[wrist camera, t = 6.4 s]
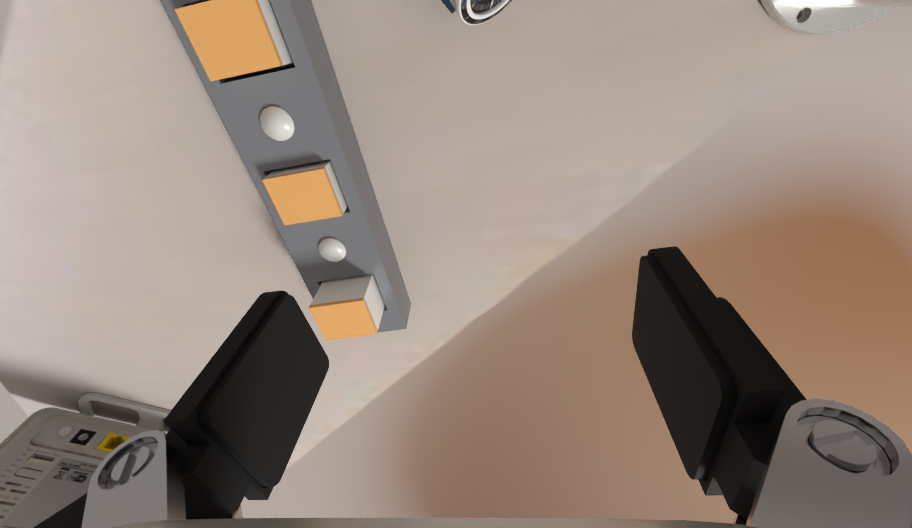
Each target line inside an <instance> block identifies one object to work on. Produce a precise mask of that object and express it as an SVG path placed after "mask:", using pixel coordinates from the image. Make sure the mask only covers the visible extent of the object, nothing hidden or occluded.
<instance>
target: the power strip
mask: <svg viewBox="0 0 912 528" xmlns="http://www.w3.org/2000/svg"><path fill="white" fill-rule="evenodd" d="M160 1H161V3H162V5H163V7H164V9H165V11H166V13H167V15H168V17H169V19H170V21H171V23H172V24H173V26H174V28H175V30H176V32H177V34H178V36H179V38H180V40H181V42H182V44H183V46H184V48H185V50H186V52H187V54H188V56H189V58H190V60H191V62H192V63H193V65H194V67H195V69H196V71H197V73H198V75H199V77H200V79H201V81H202V83H203V85H204V87H205V89H206V91H207V93H208V95H209V97H210V99H211V100H212V102H213V104H214V106H215V108H216V110H217V112H218V114H219V116H220V118H221V120H222V122H223V124H224V126H225V128H226V130H227V132H228V134H229V136H230V138H231V139H232V141H233V143H234V145H235V147H236V149H237V151H238V153H239V155H240V157H241V159H242V161H243V163H244V165H245V167H246V169H247V171H248V173H249V175H250V177H251V178H252V180H253V182H254V184H255V186H256V188H257V190H258V192H259V194H260V196H261V198H262V200H263V202H264V204H265V206H266V208H267V210H268V212H269V214H270V216H271V217H272V219H273V221H274V223H275V225H276V227H277V229H278V231H279V233H280V235H281V237H282V239H283V241H284V243H285V245H286V247H287V249H288V251H289V253H290V255H291V256H292V258H293V260H294V262H295V264H296V266H297V268H298V270H299V272H300V274H301V276H302V278H303V280H304V282H305V284H306V286H307V288H308V290H309V292H310V294H311V295H312V297H313V299H314V297H315V295H316V293H317V291H318V289H319V287H320V286H321V284H322V282H323V281H327V280H334V279H340V278H347V277H354V276H361V275H368V274H374V276H375V279H376V281H377V284H378V287H379V289H380V292H381V295H382V297H383V300H384V302H385V306H384V310H383V314H382V317H381V321H380V325H379V328H378V332H384V331H392V330H400V329H406V327H407V322H408V316H409V311H410V305H411V303H410V300H409V297H408V294H407V291H406V288H405V285H404V282H403V278H402V275H401V272H400V269H399V266H398V263H397V260H396V257H395V254H394V251H393V248H392V245H391V242H390V239H389V236H388V233H387V230H386V227H385V224H384V221H383V218H382V215H381V212H380V209H379V206H378V203H377V200H376V197H375V194H374V190H373V187H372V184H371V181H370V178H369V175H368V172H367V169H366V166H365V163H364V160H363V157H362V154H361V151H360V148H359V145H358V142H357V139H356V136H355V133H354V130H353V127H352V124H351V121H350V118H349V115H348V112H347V109H346V106H345V103H344V99H343V96H342V93H341V90H340V87H339V84H338V81H337V78H336V75H335V72H334V69H333V66H332V63H331V60H330V57H329V54H328V51H327V48H326V45H325V42H324V39H323V36H322V33H321V30H320V27H319V24H318V21H317V18H316V15H315V11H314V8H313V5H312V2H311V0H270V2H271V5H272V7H273V10H274V13H275V15H276V18H277V20H278V23H279V26H280V28H281V31H282V34H283V36H284V39H285V42H286V44H287V47H288V49H289V52H290V55H291V57H292V60H293V63H290V64H286V65H283V66H279V67H274V68H270V69H265V70H261V71H256V72H252V73H247V74H243V75H238V76H234V77H229V78H224V79H220V80H215V81H210V79H209V77H208V75H207V73H206V71H205V69H204V67H203V65H202V63H201V61H200V60H199V58H198V56H197V54H196V52H195V50H194V48H193V46H192V44H191V42H190V40H189V38H188V36H187V34H186V32H185V30H184V28H183V26H182V24H181V22H180V20H179V18H178V16H177V14H176V12H175V10H174V9H178V8H182V7H186V6H190V5H194V4H198V3H202V2H206V1H210V0H160ZM329 159H330V160H331V163H332V165H333V168H334V171H335V173H336V176H337V179H338V181H339V184H340V186H341V189H342V192H343V194H344V197H345V200H346V202H347V205H348V207H347V209H346V210H345V212H344V213H343V215H342V216H339V217H333V218H327V219H321V220H315V221H309V222H303V223H297V224H291V225H284V223H283V221H282V219H281V217H280V215H279V213H278V211H277V209H276V207H275V205H274V203H273V201H272V199H271V197H270V195H269V193H268V191H267V189H266V187H265V185H264V183H263V181H262V180H263V179H264V178H265V177H266V176H267V175H269V174H270V173H271V172H272V171H273V170H275V169H280V168H285V167H291V166H296V165H302V164H307V163H312V162H318V161H323V160H329Z"/></svg>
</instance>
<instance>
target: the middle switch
mask: <svg viewBox="0 0 912 528" xmlns="http://www.w3.org/2000/svg"><path fill="white" fill-rule="evenodd" d="M262 181H263V183H264V185H265V187H266V189H267V191H268V193H269V195H270V197H271V199H272V201H273V203H274V205H275V207H276V209H277V211H278V213H279V215H280V217H281V219H282V221H283V223H284V225H291V224H297V223H303V222H309V221H315V220H321V219H327V218H333V217H339V216H342V215H343V213H344V212H345V210H346V209H347V207H348V205H347V202H346V200H345V197H344V194H343V192H342V189H341V186H340V184H339V181H338V179H337V176H336V173H335V171H334V168H333V165H332V163H331V160H330V159H329V160H323V161H318V162H312V163H307V164H302V165H296V166H291V167H285V168H280V169H275V170H273V171H272V172H271V173H270V174H269V175H267V176H266V177H265V178H264V179H263V180H262Z"/></svg>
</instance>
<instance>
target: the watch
mask: <svg viewBox="0 0 912 528" xmlns="http://www.w3.org/2000/svg"><path fill="white" fill-rule="evenodd" d="M511 1H512V0H442V2H443V3H444V4H445V5H446V7H447V8H448V9H449V10H450V12H451V13H454V12H455V10H456V11H457V12H458V15H459V17H460V18H461V19H462V21H463V22H464V23H466V24H469V25H478V24H482V23H484V22H486V21H488V20H490V19H492V18H493V17H494V16H496V15H497V14H499V13H500V12H501V11H502V10H503V9H504V8H505V7H506V6H507V5H508V4H509V3H510V2H511Z"/></svg>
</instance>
